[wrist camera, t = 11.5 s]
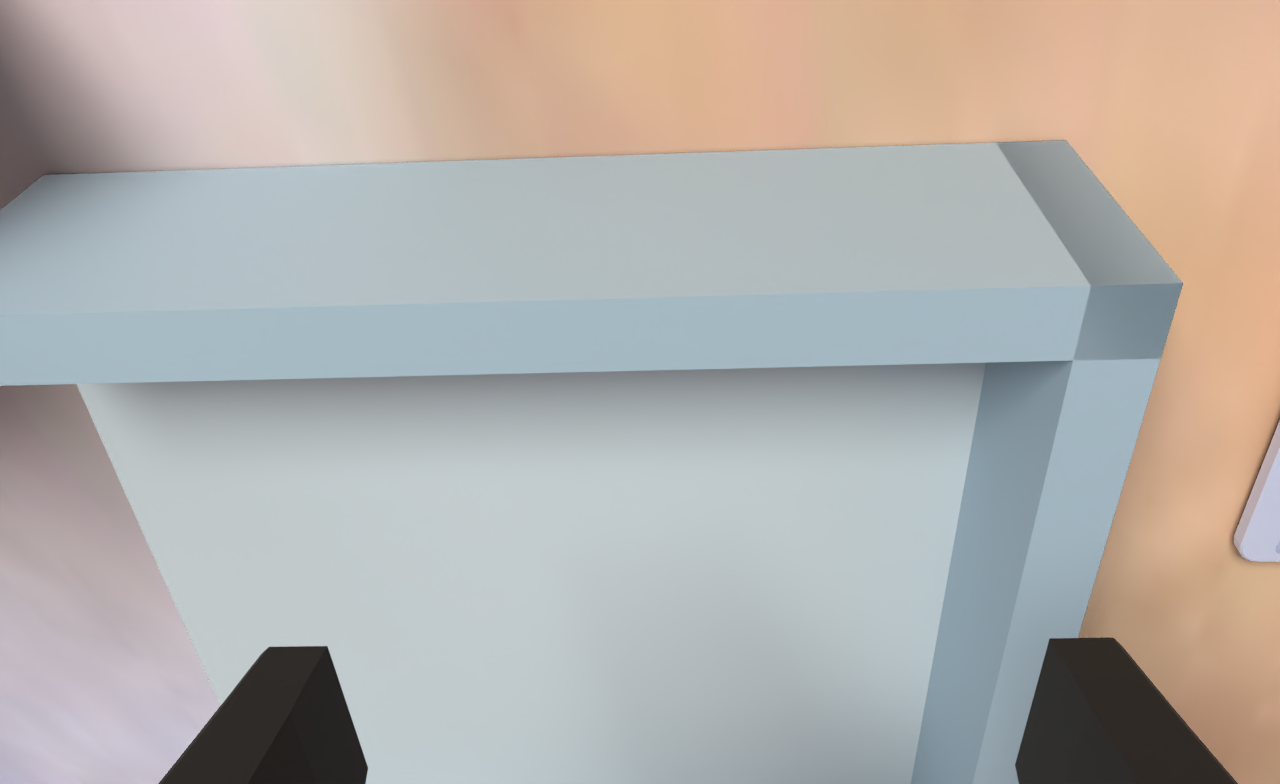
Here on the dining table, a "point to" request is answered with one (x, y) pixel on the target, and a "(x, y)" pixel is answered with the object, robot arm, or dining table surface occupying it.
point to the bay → (617, 441)
